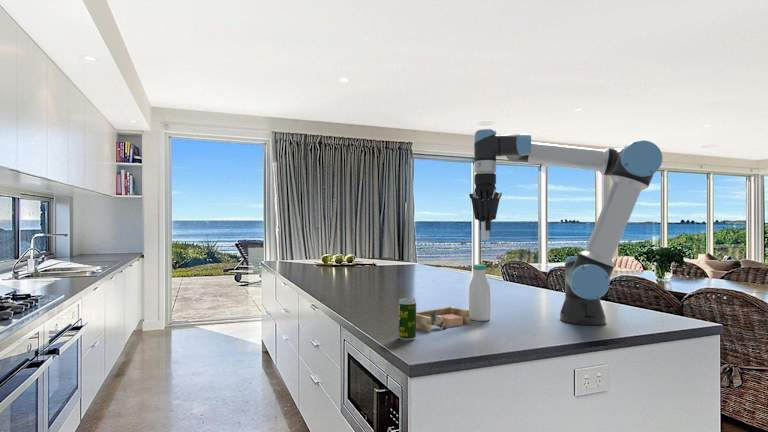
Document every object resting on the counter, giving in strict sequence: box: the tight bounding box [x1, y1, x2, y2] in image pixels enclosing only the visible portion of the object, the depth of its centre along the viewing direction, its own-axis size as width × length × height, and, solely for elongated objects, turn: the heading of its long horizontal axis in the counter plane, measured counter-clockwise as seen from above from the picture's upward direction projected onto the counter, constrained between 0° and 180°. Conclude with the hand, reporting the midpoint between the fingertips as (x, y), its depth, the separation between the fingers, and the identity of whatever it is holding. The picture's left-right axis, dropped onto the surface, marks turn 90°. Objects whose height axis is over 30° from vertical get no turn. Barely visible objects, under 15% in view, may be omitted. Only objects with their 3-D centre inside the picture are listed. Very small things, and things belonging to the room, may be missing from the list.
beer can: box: [398, 297, 417, 342], centre depth 142 cm, size 5×5×12 cm
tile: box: [440, 314, 464, 328], centre depth 162 cm, size 6×6×3 cm
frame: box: [416, 306, 471, 333], centre depth 161 cm, size 9×20×4 cm, turn 129°
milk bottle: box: [468, 263, 491, 322], centre depth 170 cm, size 8×8×20 cm
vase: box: [430, 311, 449, 331], centre depth 156 cm, size 5×5×6 cm
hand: (485, 239), depth 164 cm, fingers closed
